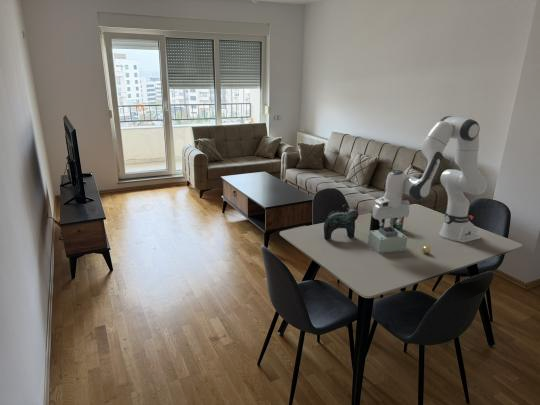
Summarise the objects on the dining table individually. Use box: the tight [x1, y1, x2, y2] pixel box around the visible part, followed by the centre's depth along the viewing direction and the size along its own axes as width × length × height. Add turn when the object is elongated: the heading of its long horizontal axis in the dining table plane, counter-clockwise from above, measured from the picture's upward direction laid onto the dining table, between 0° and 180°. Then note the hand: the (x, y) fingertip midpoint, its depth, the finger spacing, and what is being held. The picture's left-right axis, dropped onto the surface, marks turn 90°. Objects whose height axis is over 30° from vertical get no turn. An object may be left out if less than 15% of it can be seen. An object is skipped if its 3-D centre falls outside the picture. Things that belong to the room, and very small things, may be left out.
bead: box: [421, 245, 431, 255], centre depth 199 cm, size 4×4×4 cm
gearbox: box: [367, 226, 408, 254], centre depth 205 cm, size 16×12×10 cm
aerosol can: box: [367, 210, 386, 238], centre depth 214 cm, size 8×8×20 cm
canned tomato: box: [388, 217, 405, 232], centre depth 229 cm, size 8×8×11 cm
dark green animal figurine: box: [323, 204, 359, 241], centre depth 214 cm, size 20×6×20 cm, turn 104°
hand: (389, 225), depth 202 cm, fingers open, 8 cm apart
